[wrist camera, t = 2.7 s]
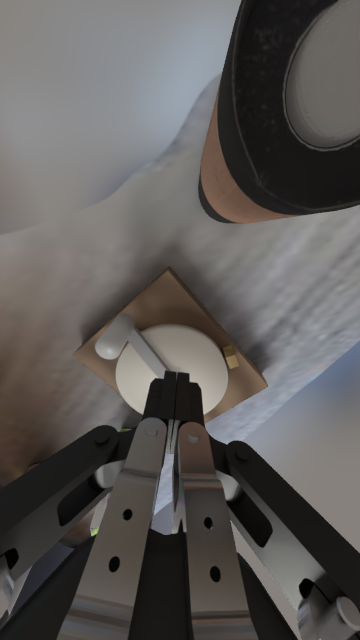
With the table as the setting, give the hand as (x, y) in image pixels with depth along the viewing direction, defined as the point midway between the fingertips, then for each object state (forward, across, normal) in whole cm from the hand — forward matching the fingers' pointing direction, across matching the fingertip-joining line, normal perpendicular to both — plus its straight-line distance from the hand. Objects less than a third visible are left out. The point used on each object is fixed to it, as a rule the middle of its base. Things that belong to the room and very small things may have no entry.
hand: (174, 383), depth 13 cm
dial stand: (+18, 0, +10) cm, 20 cm away
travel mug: (+18, -4, -13) cm, 23 cm away
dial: (+15, +1, +9) cm, 17 cm away
